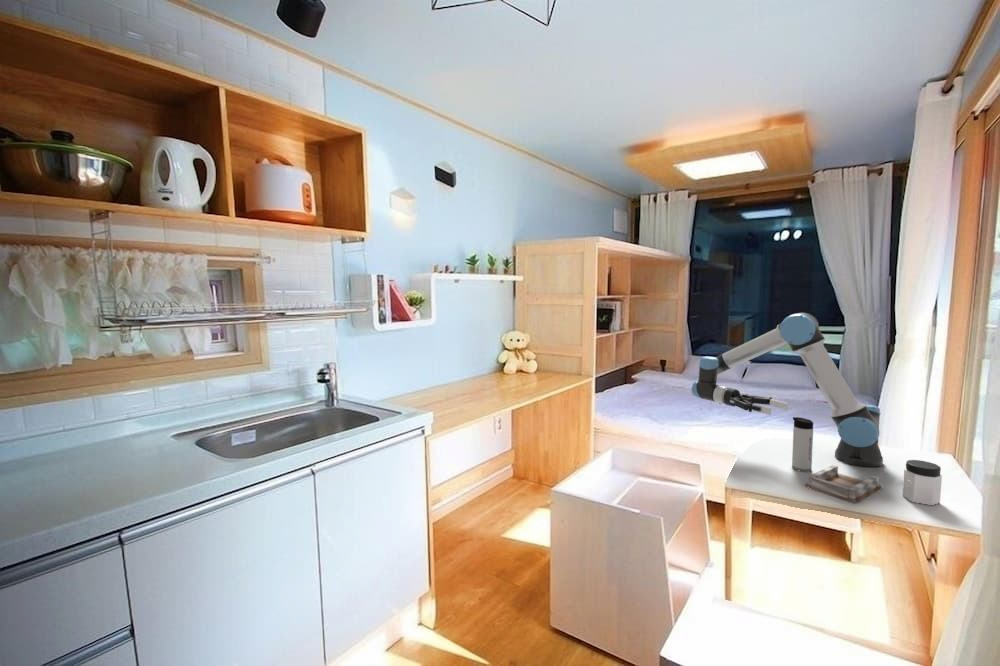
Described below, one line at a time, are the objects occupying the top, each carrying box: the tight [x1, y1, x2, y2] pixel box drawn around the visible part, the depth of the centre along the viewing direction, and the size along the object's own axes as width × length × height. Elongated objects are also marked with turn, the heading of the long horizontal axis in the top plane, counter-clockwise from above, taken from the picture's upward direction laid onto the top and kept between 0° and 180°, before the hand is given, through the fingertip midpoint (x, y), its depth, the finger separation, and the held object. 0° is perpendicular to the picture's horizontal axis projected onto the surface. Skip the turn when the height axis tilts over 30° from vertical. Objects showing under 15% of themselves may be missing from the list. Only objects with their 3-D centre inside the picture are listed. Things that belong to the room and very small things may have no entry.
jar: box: [902, 459, 943, 506], centre depth 146 cm, size 9×8×12 cm
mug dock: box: [804, 464, 883, 504], centre depth 156 cm, size 20×15×4 cm
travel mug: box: [791, 416, 814, 472], centre depth 172 cm, size 6×7×20 cm
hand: (779, 408), depth 178 cm, fingers open, 13 cm apart
